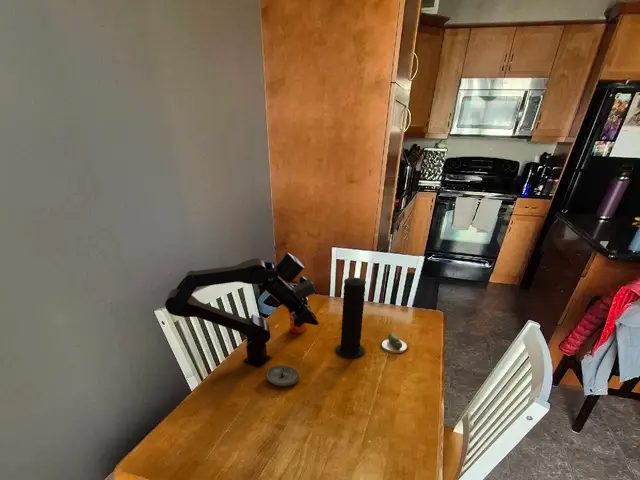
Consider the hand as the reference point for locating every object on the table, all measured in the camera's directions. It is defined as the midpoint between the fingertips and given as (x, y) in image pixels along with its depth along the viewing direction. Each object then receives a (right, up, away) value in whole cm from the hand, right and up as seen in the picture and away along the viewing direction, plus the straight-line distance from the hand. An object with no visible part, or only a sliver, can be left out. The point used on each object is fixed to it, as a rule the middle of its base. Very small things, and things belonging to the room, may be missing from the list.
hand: (316, 321), depth 120 cm
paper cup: (-7, 0, +22) cm, 23 cm away
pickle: (+28, -7, +12) cm, 31 cm away
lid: (-11, -19, -5) cm, 23 cm away
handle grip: (+12, -9, +9) cm, 18 cm away
